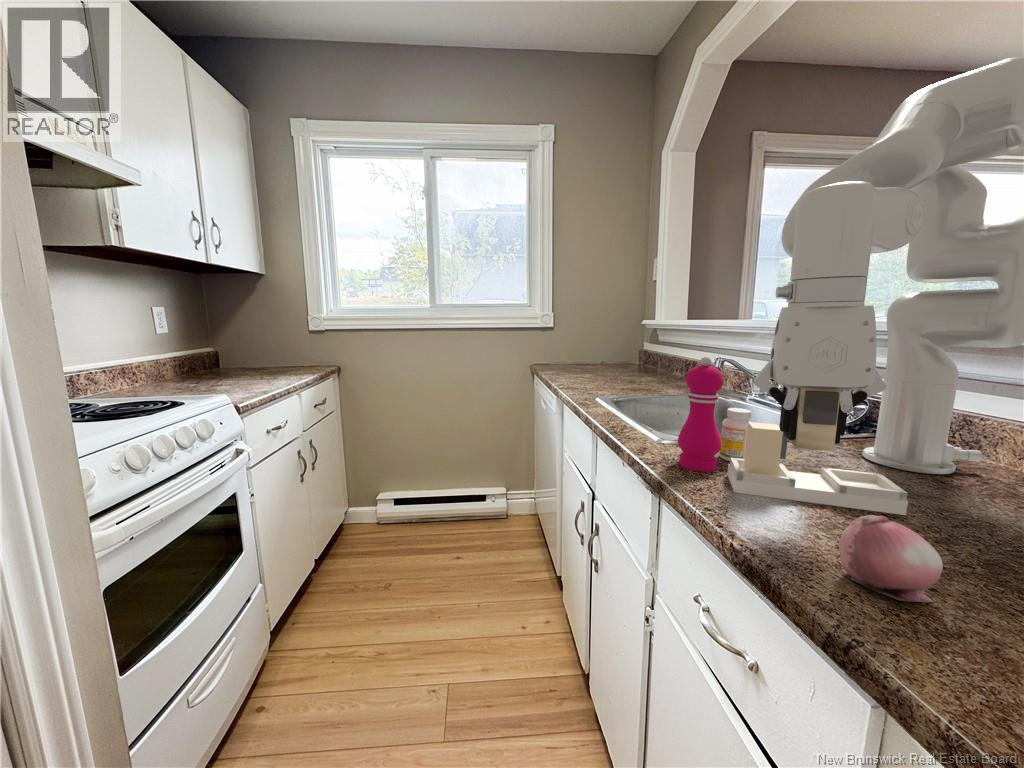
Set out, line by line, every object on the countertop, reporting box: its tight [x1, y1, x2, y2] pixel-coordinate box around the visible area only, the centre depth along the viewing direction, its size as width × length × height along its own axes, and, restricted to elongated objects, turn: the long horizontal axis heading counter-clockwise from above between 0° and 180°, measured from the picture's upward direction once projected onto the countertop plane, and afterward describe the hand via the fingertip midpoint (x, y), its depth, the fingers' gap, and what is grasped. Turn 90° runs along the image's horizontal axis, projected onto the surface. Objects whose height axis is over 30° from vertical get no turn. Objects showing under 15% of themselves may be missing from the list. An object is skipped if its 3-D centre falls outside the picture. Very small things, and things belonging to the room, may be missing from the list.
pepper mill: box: [677, 356, 724, 473], centre depth 74 cm, size 7×7×20 cm
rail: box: [727, 421, 909, 516], centre depth 63 cm, size 21×8×10 cm, turn 70°
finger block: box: [787, 388, 841, 452], centre depth 53 cm, size 5×4×8 cm
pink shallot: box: [838, 514, 944, 604], centre depth 41 cm, size 8×8×7 cm
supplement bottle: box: [718, 407, 752, 462], centre depth 79 cm, size 5×5×10 cm
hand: (810, 437), depth 53 cm, fingers closed on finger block, 4 cm apart
